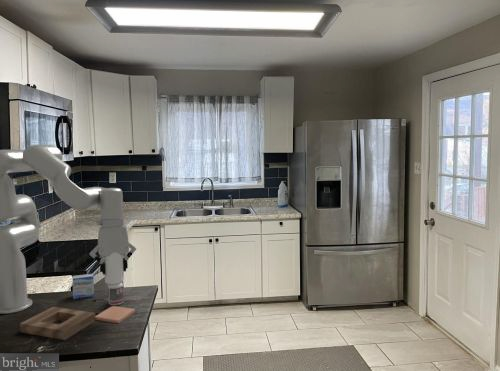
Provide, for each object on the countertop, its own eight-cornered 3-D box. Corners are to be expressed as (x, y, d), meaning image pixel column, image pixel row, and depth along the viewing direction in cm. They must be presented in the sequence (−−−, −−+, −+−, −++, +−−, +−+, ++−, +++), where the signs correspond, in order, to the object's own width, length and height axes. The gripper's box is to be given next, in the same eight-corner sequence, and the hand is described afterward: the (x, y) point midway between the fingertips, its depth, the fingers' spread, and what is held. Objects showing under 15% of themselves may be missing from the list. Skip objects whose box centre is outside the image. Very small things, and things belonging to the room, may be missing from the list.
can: (117, 285, 133) (116, 251, 132) (101, 284, 135) (99, 250, 134) (127, 279, 140) (126, 247, 139) (111, 278, 141) (110, 246, 140)
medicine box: (73, 299, 153) (72, 278, 152) (73, 295, 157) (72, 275, 156) (94, 296, 156) (93, 276, 155) (94, 292, 160) (93, 272, 160)
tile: (94, 319, 135) (94, 316, 135) (112, 308, 145) (112, 305, 144) (118, 323, 132) (118, 320, 132) (135, 311, 142) (135, 309, 142)
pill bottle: (126, 301, 151) (126, 277, 150) (114, 306, 146) (114, 281, 145) (117, 298, 154) (116, 275, 153) (105, 303, 149) (104, 279, 148)
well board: (20, 332, 126) (20, 323, 125) (53, 314, 139) (53, 306, 139) (65, 340, 120) (64, 330, 120) (95, 321, 134) (94, 312, 134)
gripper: (87, 227, 128) (89, 279, 130) (139, 222, 136) (141, 271, 138) (85, 223, 134) (87, 272, 136) (135, 219, 143) (136, 265, 144)
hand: (114, 271), depth 137 cm, fingers closed on can, 6 cm apart
